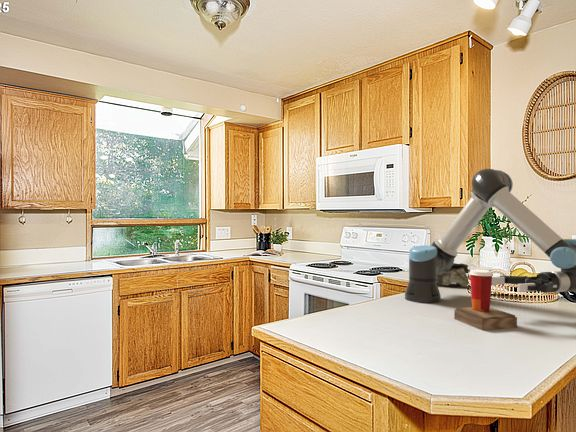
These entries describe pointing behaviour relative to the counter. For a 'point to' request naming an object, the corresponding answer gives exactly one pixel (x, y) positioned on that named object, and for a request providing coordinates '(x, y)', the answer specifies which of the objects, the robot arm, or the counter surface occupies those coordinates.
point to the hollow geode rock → (454, 275)
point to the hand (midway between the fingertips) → (503, 284)
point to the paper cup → (481, 289)
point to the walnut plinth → (485, 318)
